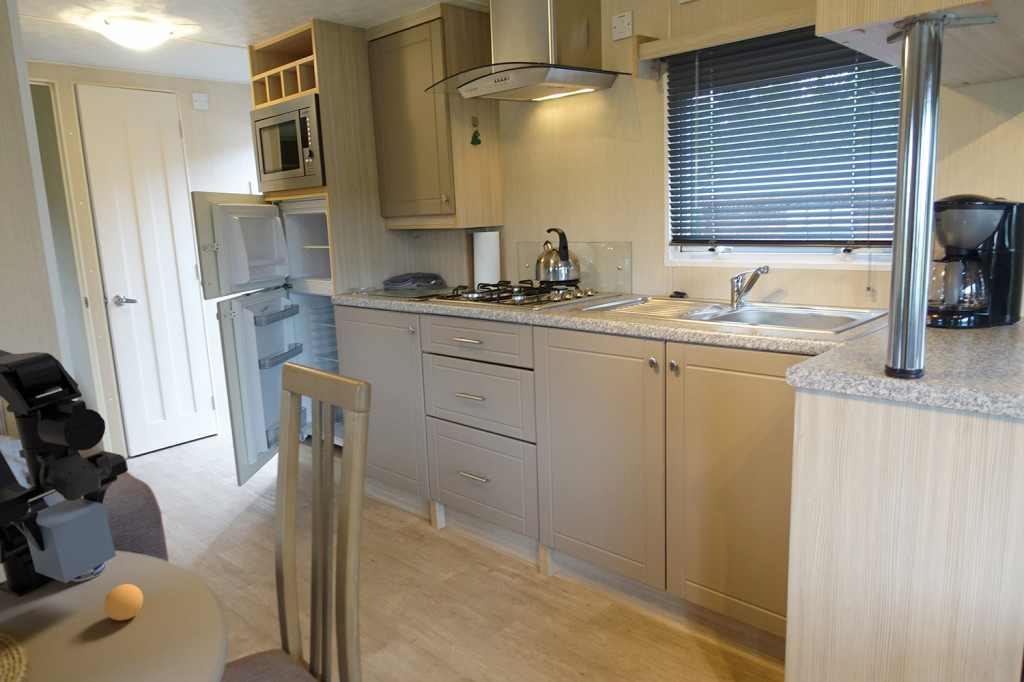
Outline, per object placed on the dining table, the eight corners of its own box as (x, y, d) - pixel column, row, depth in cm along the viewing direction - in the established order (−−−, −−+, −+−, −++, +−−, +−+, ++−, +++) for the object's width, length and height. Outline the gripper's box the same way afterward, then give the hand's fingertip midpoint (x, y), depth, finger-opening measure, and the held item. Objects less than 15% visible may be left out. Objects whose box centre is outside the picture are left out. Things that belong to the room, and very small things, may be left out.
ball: (100, 622, 101) (93, 592, 99) (132, 603, 105) (126, 574, 104) (121, 631, 98) (114, 600, 97) (153, 611, 102) (147, 581, 101)
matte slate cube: (35, 571, 103) (21, 518, 101) (86, 546, 110) (74, 495, 108) (65, 583, 100) (51, 528, 98) (116, 555, 106) (104, 504, 104)
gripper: (5, 475, 88) (34, 582, 92) (140, 424, 104) (159, 517, 108) (-39, 463, 93) (-10, 565, 97) (95, 416, 109) (116, 505, 113)
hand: (69, 536), depth 104 cm, fingers closed on matte slate cube, 8 cm apart
